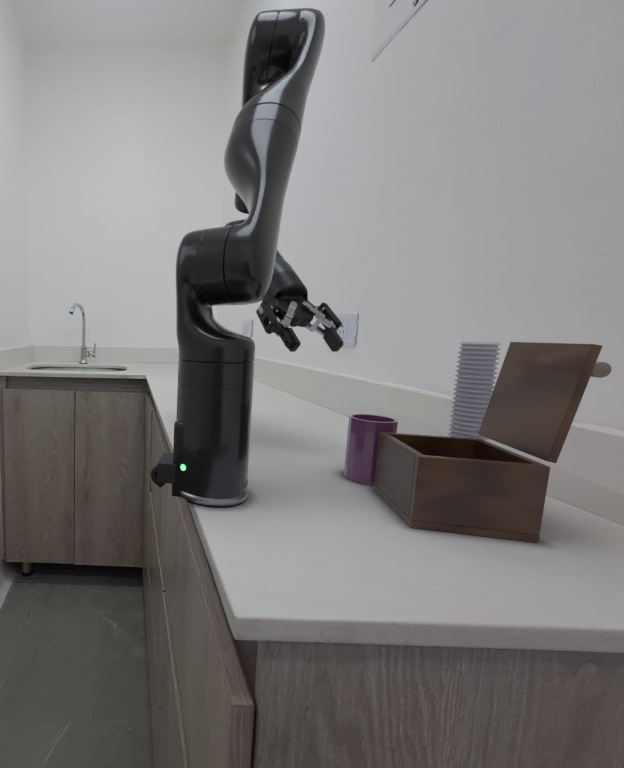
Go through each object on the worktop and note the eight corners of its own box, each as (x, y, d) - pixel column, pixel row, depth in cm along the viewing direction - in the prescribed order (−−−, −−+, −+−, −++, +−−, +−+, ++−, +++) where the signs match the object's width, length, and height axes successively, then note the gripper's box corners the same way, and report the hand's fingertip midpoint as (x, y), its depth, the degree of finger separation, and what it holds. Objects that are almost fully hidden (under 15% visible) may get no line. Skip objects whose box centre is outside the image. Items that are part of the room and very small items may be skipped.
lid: (592, 343, 38) (651, 353, 37) (510, 341, 48) (554, 348, 47) (546, 461, 40) (601, 473, 39) (477, 434, 50) (518, 443, 49)
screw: (519, 501, 51) (542, 343, 48) (438, 492, 53) (457, 341, 51) (481, 478, 59) (500, 342, 56) (413, 471, 61) (428, 340, 59)
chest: (410, 527, 43) (419, 456, 42) (373, 489, 54) (379, 431, 53) (538, 543, 41) (550, 466, 40) (472, 499, 51) (480, 438, 50)
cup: (351, 483, 56) (356, 420, 55) (339, 470, 62) (344, 412, 61) (398, 488, 55) (405, 423, 54) (382, 474, 60) (388, 415, 59)
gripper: (254, 267, 72) (293, 332, 62) (320, 271, 75) (367, 333, 66) (236, 299, 78) (270, 363, 68) (298, 301, 81) (338, 362, 72)
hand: (317, 348), depth 67 cm, fingers open, 8 cm apart
